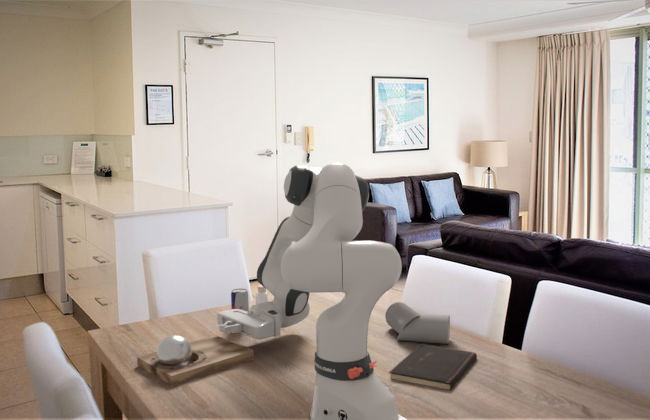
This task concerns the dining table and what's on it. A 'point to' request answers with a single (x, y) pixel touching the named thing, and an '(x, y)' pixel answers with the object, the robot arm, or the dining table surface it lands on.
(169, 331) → the dining table surface
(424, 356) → the hardcover book
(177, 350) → the ball
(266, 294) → the pepper shaker
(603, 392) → the dining table surface
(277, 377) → the dining table surface
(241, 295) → the energy drink
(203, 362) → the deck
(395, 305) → the elbow connector
